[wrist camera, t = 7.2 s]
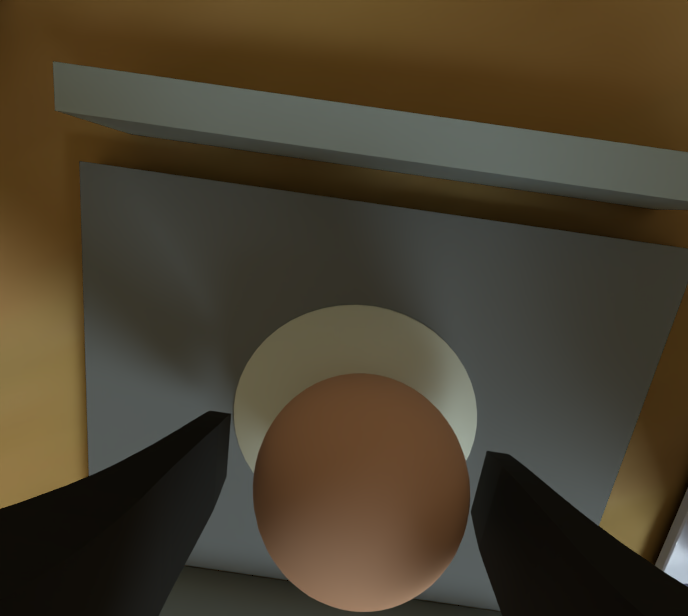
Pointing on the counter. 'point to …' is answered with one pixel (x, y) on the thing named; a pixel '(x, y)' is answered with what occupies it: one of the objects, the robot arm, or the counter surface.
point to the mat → (362, 334)
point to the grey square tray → (369, 152)
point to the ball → (361, 492)
